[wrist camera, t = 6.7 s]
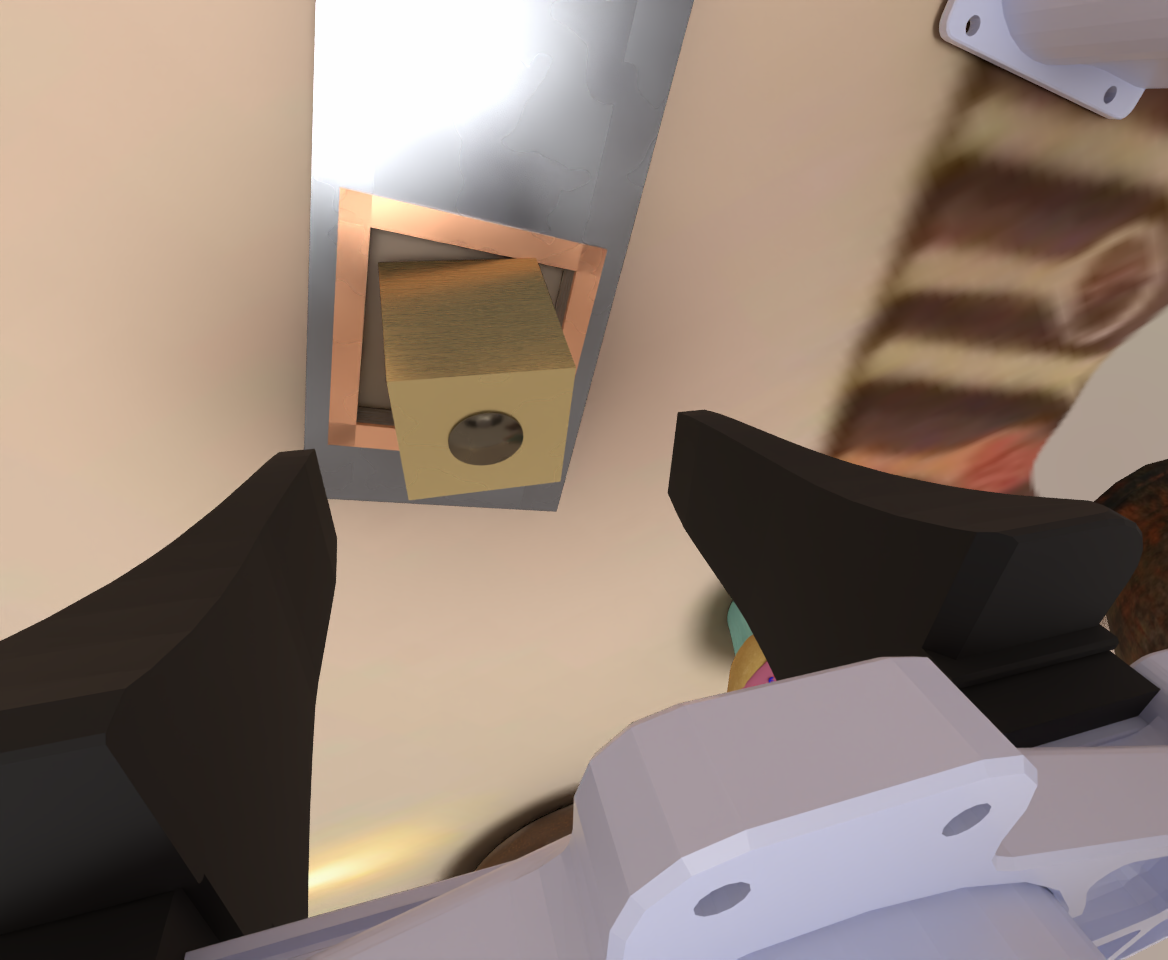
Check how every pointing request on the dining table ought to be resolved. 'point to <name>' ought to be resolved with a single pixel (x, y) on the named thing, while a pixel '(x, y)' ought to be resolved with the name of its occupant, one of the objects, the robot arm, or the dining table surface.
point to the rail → (473, 181)
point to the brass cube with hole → (475, 374)
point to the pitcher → (1142, 563)
